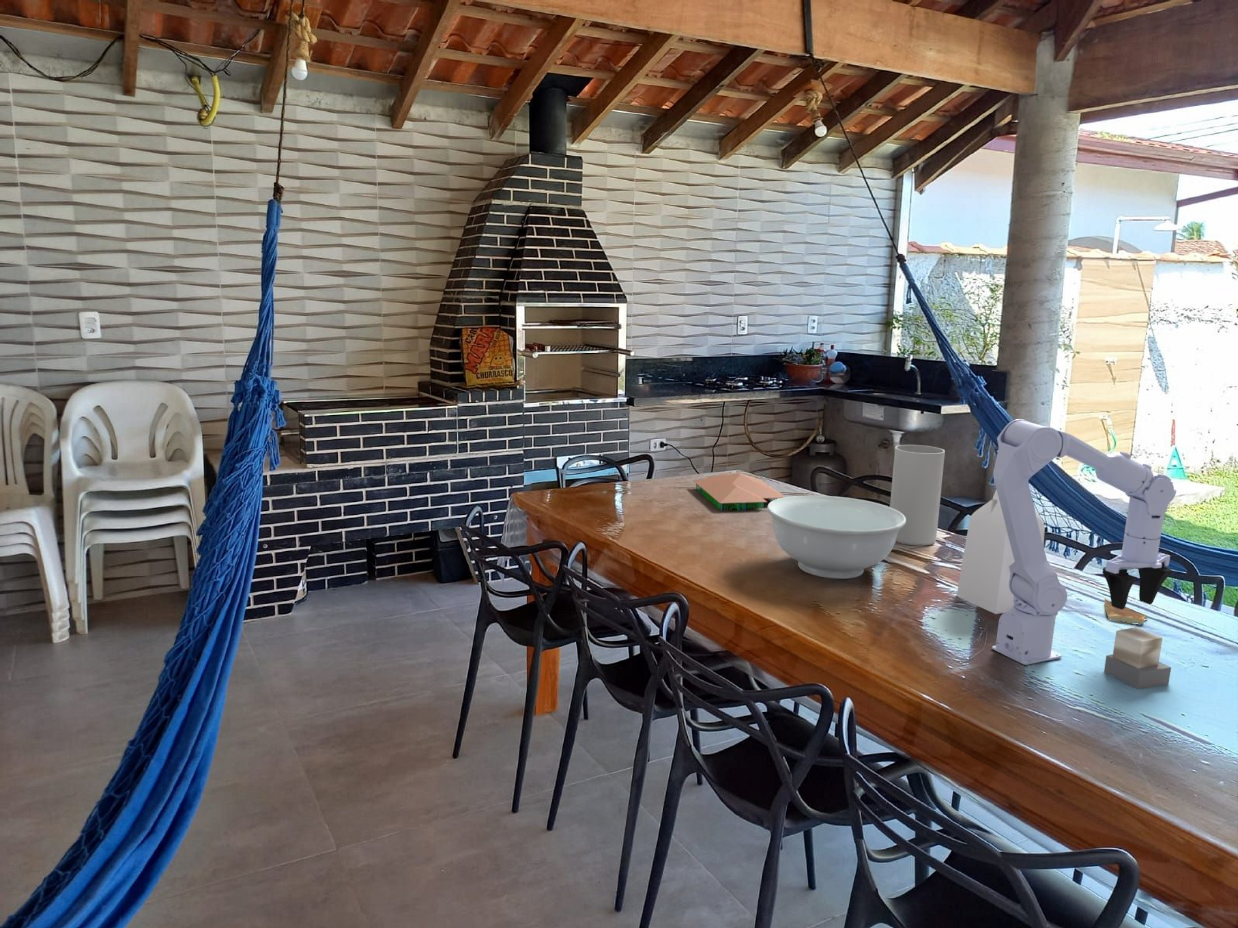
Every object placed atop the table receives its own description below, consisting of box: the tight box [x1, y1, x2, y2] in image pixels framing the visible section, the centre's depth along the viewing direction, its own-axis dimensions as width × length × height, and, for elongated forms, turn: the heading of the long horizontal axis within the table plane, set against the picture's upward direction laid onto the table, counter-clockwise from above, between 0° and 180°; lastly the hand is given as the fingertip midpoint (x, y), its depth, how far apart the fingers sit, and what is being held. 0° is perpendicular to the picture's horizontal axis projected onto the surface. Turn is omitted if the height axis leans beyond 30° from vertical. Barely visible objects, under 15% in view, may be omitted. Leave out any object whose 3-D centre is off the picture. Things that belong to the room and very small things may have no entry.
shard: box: [1104, 598, 1149, 625], centre depth 184 cm, size 11×8×2 cm
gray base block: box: [1103, 654, 1172, 690], centre depth 153 cm, size 7×7×4 cm
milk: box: [956, 488, 1046, 615], centre depth 187 cm, size 12×12×26 cm
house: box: [692, 472, 787, 512], centre depth 277 cm, size 23×33×8 cm
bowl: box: [767, 495, 906, 580], centre depth 208 cm, size 32×32×15 cm
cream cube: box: [1112, 626, 1163, 669], centre depth 153 cm, size 5×5×5 cm
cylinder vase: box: [889, 444, 946, 547], centre depth 233 cm, size 12×12×25 cm
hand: (1131, 604), depth 163 cm, fingers open, 7 cm apart
